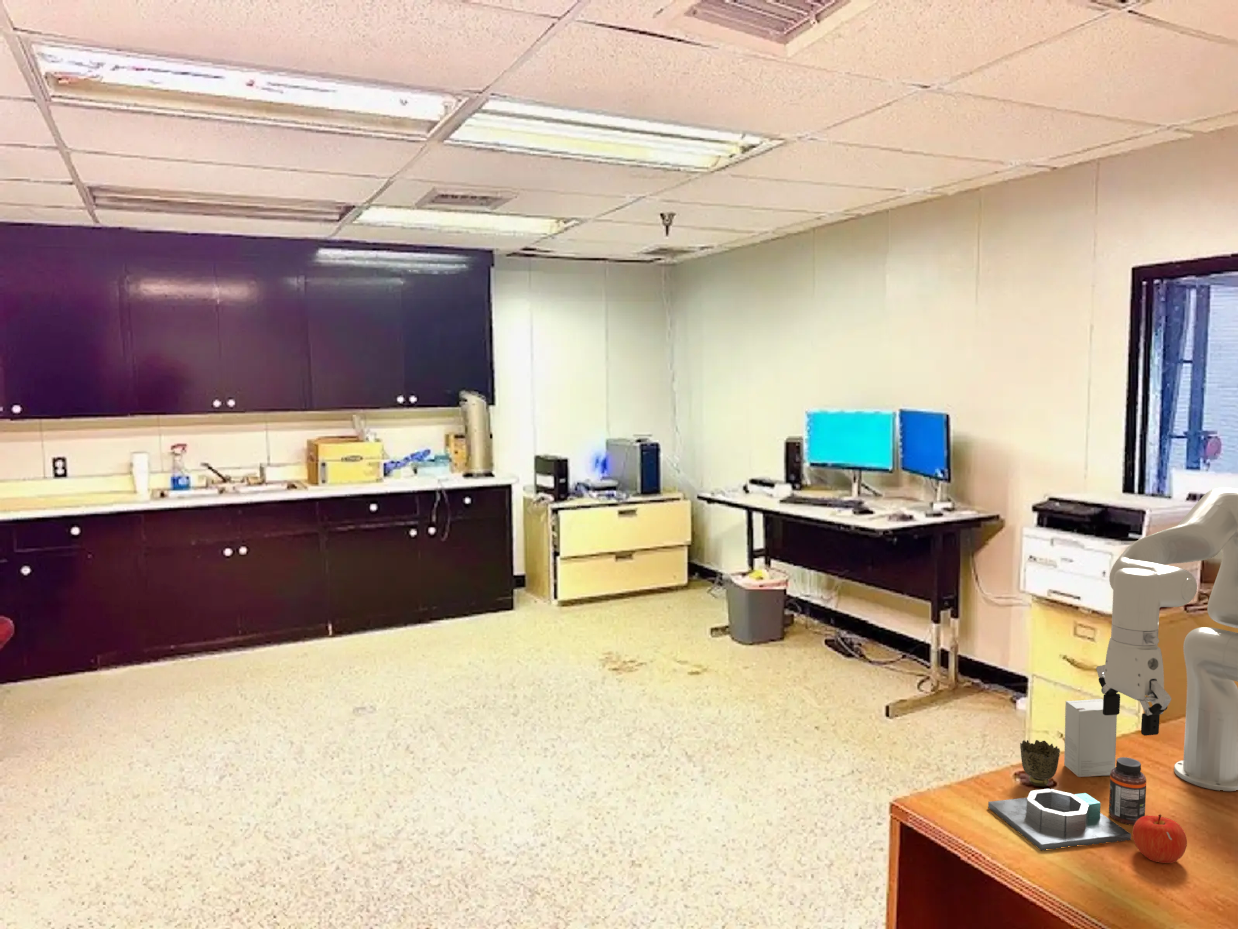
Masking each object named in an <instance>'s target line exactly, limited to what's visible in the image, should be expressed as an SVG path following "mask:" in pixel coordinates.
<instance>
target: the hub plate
mask: <svg viewBox="0 0 1238 929" xmlns="http://www.w3.org/2000/svg"><path fill="white" fill-rule="evenodd" d="M1101 804H1102V803H1101V802H1100V801H1098V800H1097V799H1095V798H1094V797H1093V796H1091V795H1089V794H1088V793H1086V792H1083V793H1075V794H1074V793H1072V792H1065V791H1062V790H1057V789H1053V788H1051V789H1050V788H1044V789H1035V790H1030V792H1029V793H1028V796H1027V797H1020V798H1013V799H1011V798H1010V799H1002V800H994V801H993V800H992V801H988V809H989V808H990V809H989V810H990V811H992V812H993V813H994V814H996V815H997V816H998V817H999V818H1001V819H1002V821H1004V822H1005V821H1006V822H1005V823H1007V824H1008V825H1009V826H1011V827H1012V828H1013V829H1014V830H1015V829H1016V830H1015V831H1017V832H1018V833H1019V834H1020V835H1021V834H1022V836H1023V837H1024V838H1025V837H1026V838H1027V839H1026V838H1025V839H1026V840H1028V841H1029V842H1030V843H1031V842H1032V843H1031V844H1032V845H1033V846H1035V845H1036V846H1037V847H1038V848H1037V847H1036V846H1035V847H1036V848H1037V849H1039V851H1041V850H1044V851H1047V850H1046V849H1053V850H1057V849H1056V848H1061V847H1068V846H1077V845H1086V846H1093V845H1092V844H1094V845H1100V844H1099V843H1102V844H1107V843H1106V842H1111V843H1118V842H1117V841H1119V842H1124V841H1125V840H1127V841H1132V833H1131V832H1129V831H1128V830H1127V829H1125V828H1123V827H1122V826H1121V825H1119V824H1117V823H1116V822H1114V821H1113V820H1112V819H1110V818H1109V817H1107V816H1106V815H1104V814H1103V813H1101V806H1102V805H1101ZM1125 842H1126V841H1125ZM1061 849H1062V848H1061Z"/></svg>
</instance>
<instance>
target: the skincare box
mask: <svg viewBox="0 0 1238 929" xmlns="http://www.w3.org/2000/svg"><path fill="white" fill-rule="evenodd" d="M1064 713H1065V714H1064V715H1065V716H1064V717H1065V718H1064V720H1065V721H1064V724H1065V725H1064V755H1063V756H1064V766H1065V767H1066V768H1067V769H1068V770H1070V771H1071V772H1072V773H1073V774H1074V775H1076V777H1078V778H1081V777H1082V778H1083V777H1084V778H1085V777H1099V776H1101V777H1102V776H1110V773H1111V770H1112V769H1114V768H1115V767H1116V755H1117V754H1116V750H1117V749H1116V748H1117V724H1118V723H1117V721H1118V718H1117V716H1118V715H1107V716H1106V715H1104V714H1103V699H1102V698H1095V699H1094V698H1093V699H1082V700H1065V712H1064Z"/></svg>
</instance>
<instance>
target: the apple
mask: <svg viewBox="0 0 1238 929" xmlns="http://www.w3.org/2000/svg"><path fill="white" fill-rule="evenodd" d="M1132 838H1133V842H1134V844H1135V846H1136V848H1137V849H1138V851H1139V853H1141V854H1142V855H1143V856H1144V857H1146V858H1147V859H1149V860H1150V861H1152V862H1156V863H1162V864H1173V863H1175V862H1177V861H1178V860H1181V858H1182V857H1183V856H1184V854H1185V852H1186V850H1187V847H1188V840H1187V834H1186V832H1185V831H1184V829H1183V827H1182V826H1181V825H1180V824H1179V823H1178V822H1177V821H1175V820H1174V819H1170V818H1167V817H1165V816H1162V814H1161V813H1159V814H1158V815H1145V816H1143V817H1141V818H1139V819H1138V820H1137V821H1136V823H1135V824H1134V825H1133V827H1132Z"/></svg>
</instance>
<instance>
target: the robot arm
mask: <svg viewBox="0 0 1238 929" xmlns="http://www.w3.org/2000/svg"><path fill="white" fill-rule="evenodd" d="M1221 551H1222V558H1221V563H1220V566H1219V570H1218V572H1217V574H1216V575H1217V576H1216V578H1215V581H1214V584H1213V586H1212V590H1211V593H1210V595H1209V599H1208V602H1207V614H1208V617H1209V618H1210V619H1211V620H1213V621H1214V622H1216V623H1217V624H1219V625H1223V626H1226V627H1230V628H1234V629H1238V488H1235V487H1233V488H1232V487H1218V488H1213V489H1211V490H1209V491H1207V492H1205V494H1204V495H1203V496H1202V497H1201V498H1200V499H1199V500H1198V501H1196V503H1195V504H1194V506H1193V507H1192V508H1191V509H1190V510H1189V511H1188V512H1187V513H1186V514H1185V516H1184V517H1183V518H1182V519H1181V521H1180V522H1179V523H1178V524H1177V525H1176V526H1173V527H1172V526H1171V527H1169V528H1165V529H1163V530H1161V531H1158V532H1155V533H1153V534H1150V535H1146V536H1144V537H1141V538H1139V539H1138V540H1135V541H1134V542H1132V543H1131V544H1130V545H1129V546H1128V547H1127V548H1126V549H1125V550H1124V551H1123V552H1122V553H1121V555H1120V556H1119V557H1118V558H1117V559H1116V560H1115V562H1114V563H1113V566H1112V567H1111V569H1110V572H1109V585H1110V587H1111V589H1112V609H1111V631H1110V632H1111V634H1110V635H1111V636H1110V637H1109V640H1108V645H1107V649H1106V653H1105V654H1106V656H1105V664H1102V665H1098V666H1096V667H1095V670H1096V674H1097V675H1098V683H1099V685H1100V686H1101V689H1100V691H1101V693H1102V694H1103V699H1102V700H1103V714H1104V715H1106V716H1107V715H1117V716H1118V715H1119V714H1120V711H1121V710H1120V709H1121V694H1122V695H1125V696H1127V697H1128V698H1131V699H1133V700H1134V701H1138V702H1140V705H1141V707H1142V709H1143V711H1144V713H1142V714H1141V721H1140V722H1141V724H1140V727H1141V728H1140V732H1141V735H1143V736H1144V737H1145V736H1146V737H1147V736H1157V735H1158V734H1159V732H1160V715H1163V714H1164V712H1165V711H1166V710H1167V709H1168V706H1169V705H1170V703H1171V701H1172V697H1171V695H1170V694H1169V693H1168V692H1167V691H1166V689H1165V676H1164V674H1165V673H1164V672H1165V671H1164V660H1163V654H1162V649H1161V647H1159V646H1158V644H1159V642H1160V639H1159V629H1160V628H1159V625H1160V623H1159V622H1160V608H1178V607H1183V606H1185V605H1187V604H1189V603H1190V602H1192V600H1193V599H1194V598H1195V596H1196V594H1197V590H1198V585H1197V584H1198V583H1197V580H1196V578H1195V576H1194V575H1193V574H1192V573H1191V572H1190V571H1188V570H1186V569H1184V568H1181V567H1178V566H1173V565H1174V564H1175V565H1176V564H1185V563H1195V562H1200V561H1201V562H1202V561H1205V560H1210V559H1212V558H1215V557H1216V556H1218V554H1219V553H1220V552H1221ZM1172 564H1173V565H1172ZM1182 648H1183V658H1184V663H1185V669H1186V671H1185V672H1186V704H1185V721H1184V723H1185V725H1184V744H1183V760H1179V761H1177V762H1176V763H1174V766H1173V767H1174V769H1173V770H1174V773H1175V774H1176V776H1177V777H1179V778H1180V779H1182V780H1184V781H1186V782H1187V783H1189V784H1192V785H1194V786H1198V787H1200V788H1204V789H1209V790H1215V791H1220V790H1223V792H1237V791H1236V790H1238V685H1237V684H1236V682H1238V632H1235V631H1230V630H1225V629H1221V628H1217V627H1216V628H1215V627H1206V626H1205V627H1204V626H1203V627H1202V626H1201V627H1197V628H1194V629H1192V630H1190V631H1189V632H1188V633H1187V635H1186V636H1185V638H1184V641H1183V647H1182ZM1149 703H1151V705H1152V706H1150V704H1149Z"/></svg>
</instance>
